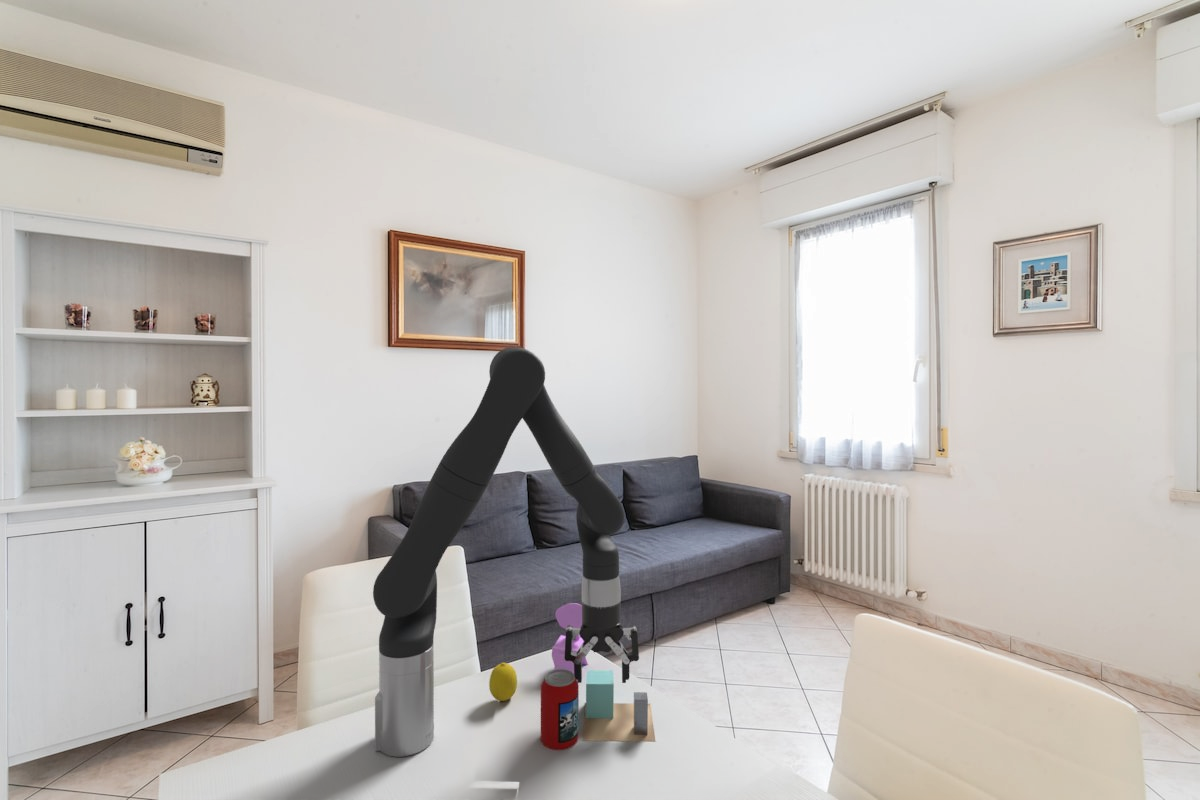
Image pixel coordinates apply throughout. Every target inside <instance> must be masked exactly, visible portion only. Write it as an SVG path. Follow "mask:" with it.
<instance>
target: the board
mask: <svg viewBox="0 0 1200 800" xmlns="http://www.w3.org/2000/svg"><path fill="white" fill-rule="evenodd" d="M583 710H584V711H583V726H582V728H583V729H582V742H584V741H585V742H589V741H590V742H591V741H593V742H594V741H595V742H656V735H655V728H654V721H653V714H652V705H651V703H648V735H634V702H633V703H626V702H625V703H623V702H622V703H620V702H619V703H618V702H613V718H586V702H584V709H583Z"/></svg>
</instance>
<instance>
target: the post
mask: <svg viewBox="0 0 1200 800" xmlns="http://www.w3.org/2000/svg"><path fill="white" fill-rule="evenodd" d="M648 697H649V696H648V693H647V692H643V691H641V692H639V691H638V692H637V691H634V692H633V704H634V735H648V704H649V701H648Z"/></svg>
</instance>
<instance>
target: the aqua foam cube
mask: <svg viewBox="0 0 1200 800" xmlns="http://www.w3.org/2000/svg"><path fill="white" fill-rule="evenodd" d="M614 681H615V680H614V670H606V669H605V670H604V669H602V670H595V669H593V670H589V669H587V670H586V680H585V703H586V718H613V703H614V702H615V701H614V700H615V699H614V693H615V692H614V688H615V686H614Z"/></svg>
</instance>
